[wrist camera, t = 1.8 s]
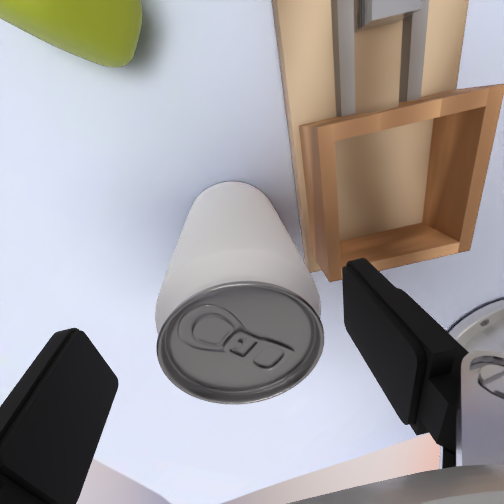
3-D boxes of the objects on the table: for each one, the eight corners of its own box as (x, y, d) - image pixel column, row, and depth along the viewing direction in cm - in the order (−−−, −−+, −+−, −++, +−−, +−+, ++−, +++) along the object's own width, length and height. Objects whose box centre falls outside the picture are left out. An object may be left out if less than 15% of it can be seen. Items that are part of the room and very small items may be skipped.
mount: (487, -298, 10) (664, -579, 6) (423, 238, 22) (471, 267, 17) (241, -237, 10) (253, -472, 6) (305, 265, 22) (325, 300, 17)
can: (219, 160, 17) (211, 228, 7) (293, 212, 19) (376, 327, 9) (171, 235, 19) (108, 378, 9) (243, 274, 21) (262, 428, 11)
